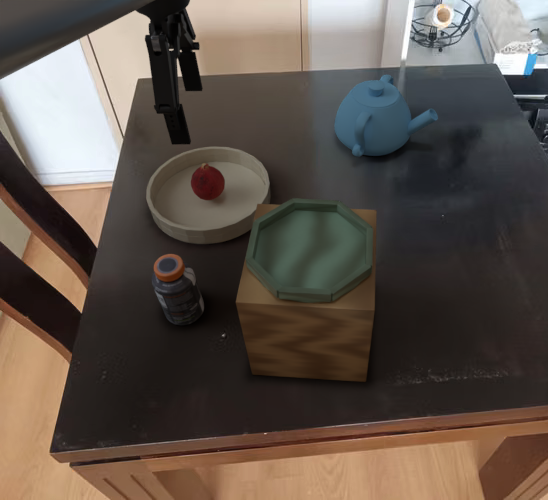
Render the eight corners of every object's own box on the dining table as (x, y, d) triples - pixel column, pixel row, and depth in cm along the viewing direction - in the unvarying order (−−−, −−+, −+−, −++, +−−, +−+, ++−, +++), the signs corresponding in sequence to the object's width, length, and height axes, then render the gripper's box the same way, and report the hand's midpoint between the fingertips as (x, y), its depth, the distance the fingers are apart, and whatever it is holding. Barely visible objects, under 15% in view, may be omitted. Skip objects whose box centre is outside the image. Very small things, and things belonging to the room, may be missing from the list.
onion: (218, 212, 95) (211, 179, 89) (189, 205, 96) (180, 171, 90) (232, 191, 99) (226, 157, 92) (204, 184, 100) (196, 150, 94)
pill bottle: (210, 297, 84) (196, 251, 75) (196, 329, 80) (181, 284, 71) (173, 291, 84) (156, 244, 76) (159, 323, 81) (138, 277, 72)
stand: (252, 374, 75) (233, 292, 60) (268, 283, 86) (255, 193, 70) (365, 382, 75) (376, 301, 60) (368, 289, 85) (377, 199, 70)
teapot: (353, 103, 117) (355, 49, 107) (442, 125, 112) (453, 70, 103) (318, 159, 105) (317, 104, 95) (417, 185, 101) (427, 130, 91)
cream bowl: (136, 240, 91) (130, 226, 88) (169, 157, 105) (164, 143, 102) (261, 247, 90) (259, 233, 88) (277, 163, 104) (276, 149, 101)
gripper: (168, 22, 59) (202, 168, 76) (197, -66, 75) (220, 70, 92) (99, 23, 59) (148, 168, 75) (143, -66, 75) (176, 70, 91)
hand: (188, 115), depth 84 cm, fingers open, 13 cm apart
